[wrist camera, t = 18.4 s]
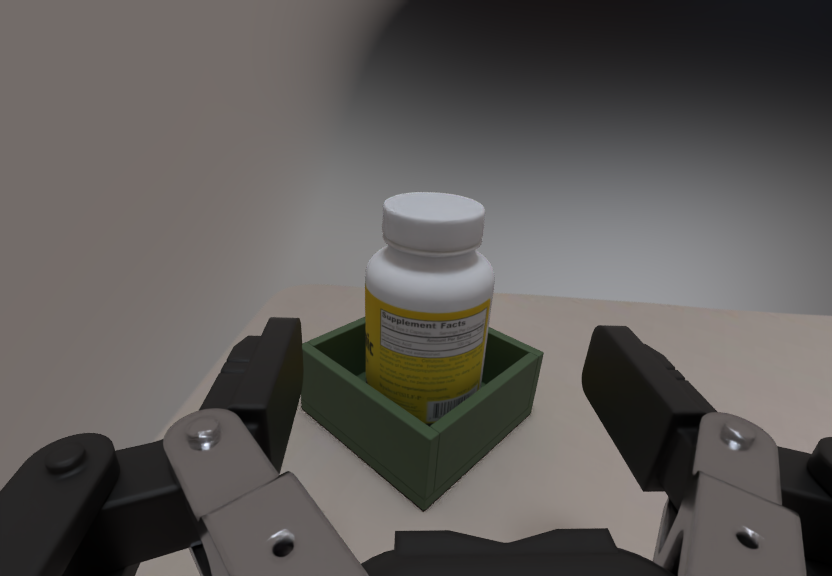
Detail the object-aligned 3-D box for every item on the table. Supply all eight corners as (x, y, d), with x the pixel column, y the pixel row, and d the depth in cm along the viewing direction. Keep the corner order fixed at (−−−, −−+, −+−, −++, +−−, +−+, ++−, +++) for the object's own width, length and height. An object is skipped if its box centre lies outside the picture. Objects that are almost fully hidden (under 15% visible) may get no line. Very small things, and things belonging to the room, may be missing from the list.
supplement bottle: (388, 360, 25) (395, 181, 21) (486, 383, 24) (514, 197, 19) (344, 425, 20) (341, 211, 16) (463, 459, 19) (494, 235, 15)
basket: (423, 512, 17) (430, 440, 16) (301, 408, 22) (296, 345, 20) (531, 412, 23) (544, 352, 21) (414, 346, 27) (417, 293, 26)
